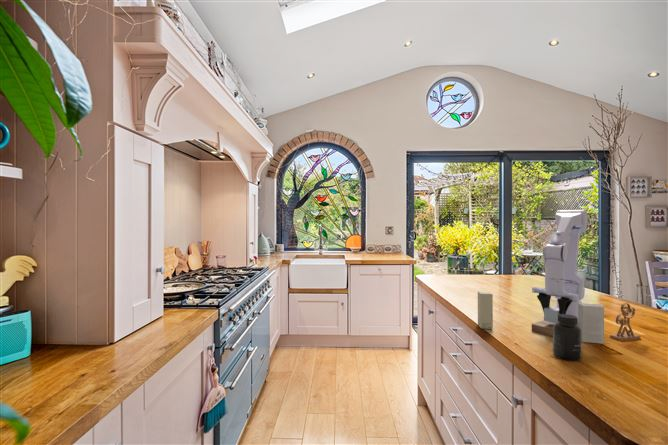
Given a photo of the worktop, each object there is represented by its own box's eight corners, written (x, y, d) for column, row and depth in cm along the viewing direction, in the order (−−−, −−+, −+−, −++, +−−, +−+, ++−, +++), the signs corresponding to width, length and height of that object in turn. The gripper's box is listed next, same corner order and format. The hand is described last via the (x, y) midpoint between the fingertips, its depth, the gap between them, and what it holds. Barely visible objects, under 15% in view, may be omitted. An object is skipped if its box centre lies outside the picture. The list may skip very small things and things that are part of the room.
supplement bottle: (582, 363, 93) (583, 321, 93) (553, 358, 97) (553, 317, 97) (580, 355, 99) (580, 314, 99) (552, 350, 103) (553, 311, 102)
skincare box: (598, 339, 112) (599, 304, 111) (604, 344, 108) (605, 307, 107) (577, 337, 114) (577, 302, 113) (582, 342, 110) (582, 305, 109)
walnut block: (546, 327, 126) (546, 319, 125) (576, 335, 117) (576, 327, 117) (531, 332, 120) (531, 323, 120) (561, 340, 112) (562, 331, 112)
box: (493, 329, 121) (493, 294, 121) (480, 328, 122) (480, 293, 122) (489, 325, 127) (489, 291, 126) (477, 324, 127) (477, 290, 127)
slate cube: (550, 318, 122) (550, 306, 122) (564, 322, 118) (564, 309, 118) (543, 320, 119) (544, 308, 119) (557, 324, 116) (557, 311, 115)
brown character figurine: (621, 341, 110) (622, 305, 110) (609, 337, 114) (609, 302, 114) (641, 339, 113) (641, 303, 112) (628, 335, 116) (628, 300, 116)
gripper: (527, 276, 123) (527, 313, 123) (571, 283, 110) (571, 324, 110) (538, 274, 126) (537, 310, 126) (582, 281, 114) (581, 320, 114)
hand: (554, 316), depth 119 cm, fingers closed on slate cube, 4 cm apart
